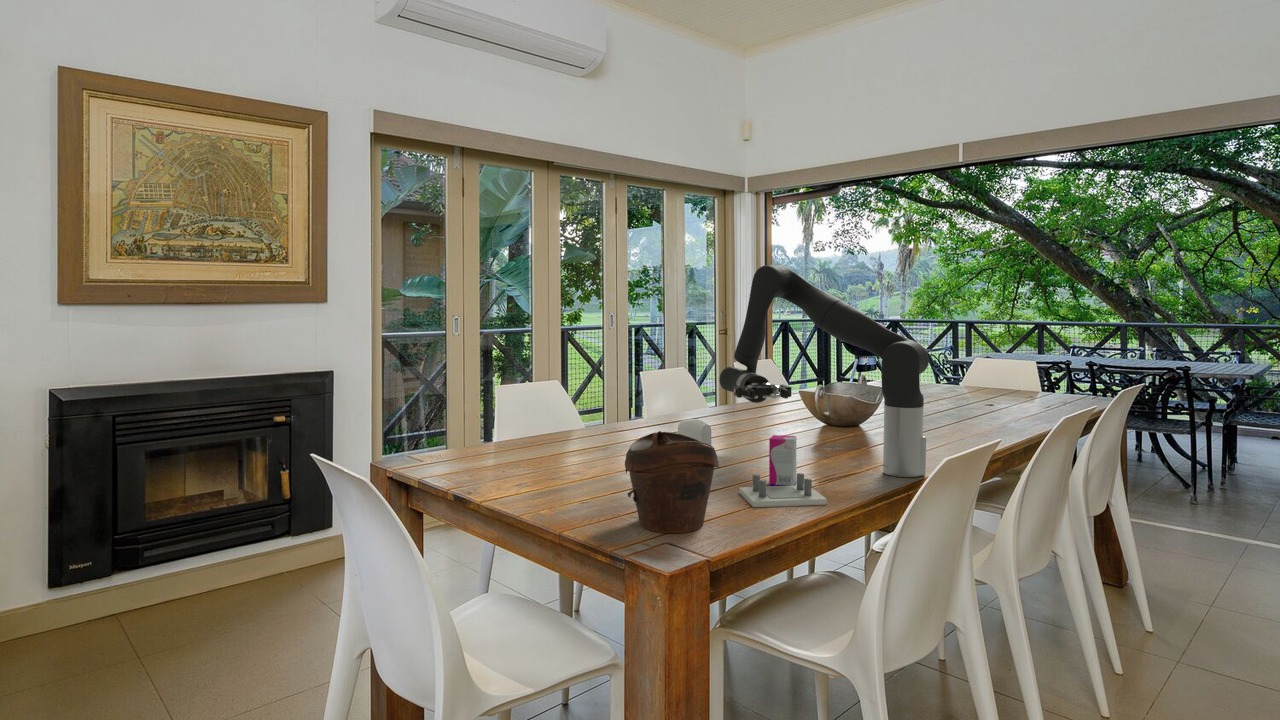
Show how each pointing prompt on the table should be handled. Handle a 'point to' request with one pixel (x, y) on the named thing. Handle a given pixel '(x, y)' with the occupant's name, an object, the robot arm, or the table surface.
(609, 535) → the table surface
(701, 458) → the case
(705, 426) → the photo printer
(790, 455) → the supplement box
